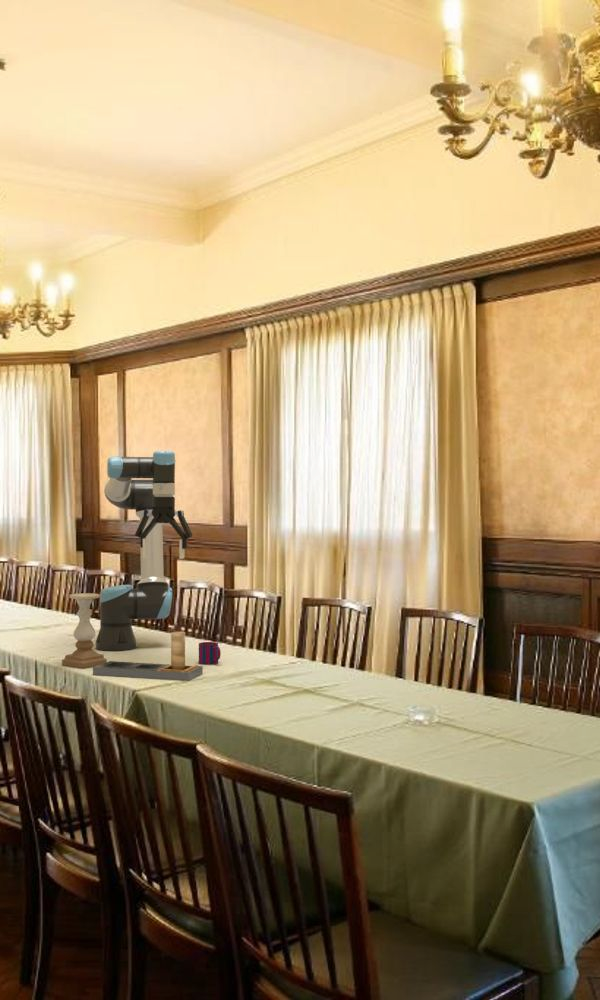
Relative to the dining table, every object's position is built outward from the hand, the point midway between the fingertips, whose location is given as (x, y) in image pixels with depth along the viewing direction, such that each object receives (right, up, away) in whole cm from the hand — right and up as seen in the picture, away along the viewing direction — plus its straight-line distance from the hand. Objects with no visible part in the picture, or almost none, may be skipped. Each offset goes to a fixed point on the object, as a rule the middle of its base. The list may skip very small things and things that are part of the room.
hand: (163, 558), depth 346 cm
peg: (+8, -37, -23) cm, 44 cm away
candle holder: (-26, -36, -3) cm, 45 cm away
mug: (+16, -37, 0) cm, 40 cm away
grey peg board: (-2, -36, -20) cm, 42 cm away
